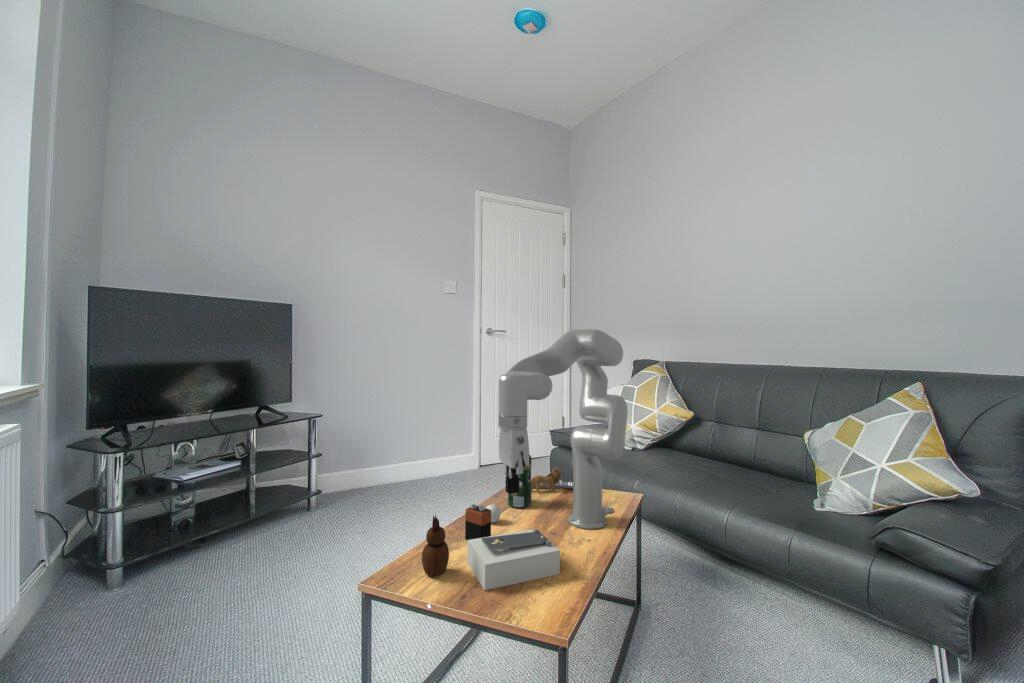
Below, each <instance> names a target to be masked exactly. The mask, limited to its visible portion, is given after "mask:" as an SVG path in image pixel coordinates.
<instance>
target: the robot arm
mask: <svg viewBox="0 0 1024 683" xmlns="http://www.w3.org/2000/svg"><path fill="white" fill-rule="evenodd" d="M623 359H624V349H623V346H622V343H620V342H619V341H618V340H617V339H615V338H614V337H612V336H611V335H609V334H608V333H607V332H604V331H603V330H600V329H595V328H594V329H589V328H588V329H572V330H569V331H567V332H565V333H564V334H562V336H560V338H558V339H557V340H556V341H555V342H554V343H553V344H551V346H550V347H548V348H547V349H545V350H542V351H539V352H537V353H534V354H533V355H529V356H528V357H526V358H523V359H521V360H520V361H518V362H517V363H516V364H514V365H513V366H512V367H510V369H508V371H506V372H505V373H504V374H501V375H500V376H499V378H498V414H497V415H498V418H497V419H498V425H497V426H498V428H499V436H498V438H499V440H498V459H499V460H500V462H501V463H502V464H503V466H504V476H505V492H506V493H507V494H512V493H518V492H519V478H520V474H523V466H524V467H528V466H529V455H530V447H529V446H530V445H529V444H530V442H529V434H528V430H527V428H528V401H532V400H533V401H541V400H545V399H546V398H548V397H549V396H550V394H552V393H551V392H552V390H553V381H552V379H551V377H553V376H556V375H557V376H558V375H560V374H563V373H565V372H567V371H568V370H569V369H570V368H571V366H573V364H575V363H576V364H577V366H578V369H579V371H580V373H581V376H582V377H581V378H582V381H581V382H582V383H581V392H580V398H579V399H580V400H579V406H578V407H579V410H578V411H579V416H580V418H581V419H582V420H585V421H588V422H591V423H592V422H593V423H598V424H599V423H600V424H607V427H601V426H597V425H588V424H582V425H577V426H576V427H574V428H573V430H572V431H571V434H570V445H571V453H572V460H573V461H572V462H573V463H572V464H573V465H572V466H573V468H572V469H573V472H572V473H573V475H572V476H573V477H572V478H573V482H572V483H573V484H572V490H573V491H572V512H571V513H570V514H568V516H567V521H568V522H569V524H570V525H572V526H574V527H576V528H580V529H587V530H593V529H594V530H596V529H601V528H604V527H605V526H606V525H607V523H608V522H607V518H606V516H607V515H612V514H615V509H614V507H607V506H606V505H605V506H603V466H602V464H601V461H600V459H599V458H603V459H608V460H618V459H619V458H621V456H622V455H623V452H624V449H625V443H626V435H627V434H626V432H627V423H628V412H629V411H628V404H627V402H626V400H625V398H624V397H622V396H620V395H618V394H617V395H616V394H608V383H609V381H608V376H607V374H606V372H605V371H604V369H603V368H602V367H616V366H618V365H619V364H621V362H622V360H623Z"/></svg>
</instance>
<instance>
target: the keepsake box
mask: <svg viewBox="0 0 1024 683" xmlns="http://www.w3.org/2000/svg"><path fill="white" fill-rule="evenodd" d="M536 531H539V529H538V528H532V529H527V530H525V529H524V530H521V531H514V532H509V533H508V532H507V533H502V534H496V535H491V536H489V537H495V536H504V535H512V534H521V533H530V532H536ZM539 532H540V531H539ZM483 538H487V537H483ZM497 543H503V542H502V541H500V540H498V539H497V540H495V542H492V544H497ZM466 544H467V548H466V549H467V554H466V558H467V560H466V563H467V565H468V567H469V568H470V570H471V571H472V572H473V574H474V575H475V577H476V579H477V581H478V582H479V583H480V586H481V587H482V588H483V590H484V591H488V590H493V589H498V588H503V587H507V586H512V585H516V584H520V583H521V584H522V583H525V582H531V581H534V580H539V579H543V578H544V579H545V578H549V577H553V576H559V575H560V574H561V572H560V566H561V565H560V564H561V563H560V562H561V559H560V558H561V557H560V555H561V550H560V549H559V548H558V547H557V546H555V545H554V544H553V543H552V540H550V539H548V541H546V544H545V543H544V544H536V545H528V546H521V547H513V548H505V549H497V550H490V551H489V549H488V548H487V547H486V545H485V544H484V543H483V542H482V538H477V539H471V540H467V543H466Z"/></svg>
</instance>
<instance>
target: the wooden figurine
mask: <svg viewBox="0 0 1024 683" xmlns="http://www.w3.org/2000/svg"><path fill="white" fill-rule="evenodd" d="M431 526H432V527H429V529H428V530H427V531H426V535H425V536H426V537H425V538H426V540H425V541H426V545H425V546H424V547H423V549H422V552H421V563H422V569H423V571H424V573H425V574H426V575H427V576H429V577H433V578H434V577H438V576H441V575H442V574H443V573H445V571H446V568H447V566H448V563H449V559H450V551H449V546H448V543H447V542H446V541H445V540H446V530H445V529H444V527H443V526H440V520H439V519H438V517H437V515H432V525H431Z"/></svg>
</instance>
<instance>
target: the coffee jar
mask: <svg viewBox="0 0 1024 683" xmlns="http://www.w3.org/2000/svg"><path fill="white" fill-rule="evenodd" d="M531 480H532V456H531V455H530V454H529V466H528V467H524V466H523V474H520V478H519V492H518V493H512V494H508V493H507V494H508V495H507V496H508V497H507V500H508V501H507V504H508V506H509V507H510V508H514V509H526V508H528V507H529V506H530V504H531V502H532V491H531Z"/></svg>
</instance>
